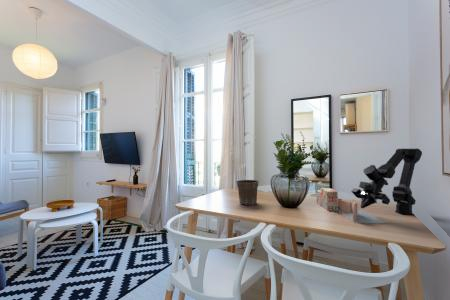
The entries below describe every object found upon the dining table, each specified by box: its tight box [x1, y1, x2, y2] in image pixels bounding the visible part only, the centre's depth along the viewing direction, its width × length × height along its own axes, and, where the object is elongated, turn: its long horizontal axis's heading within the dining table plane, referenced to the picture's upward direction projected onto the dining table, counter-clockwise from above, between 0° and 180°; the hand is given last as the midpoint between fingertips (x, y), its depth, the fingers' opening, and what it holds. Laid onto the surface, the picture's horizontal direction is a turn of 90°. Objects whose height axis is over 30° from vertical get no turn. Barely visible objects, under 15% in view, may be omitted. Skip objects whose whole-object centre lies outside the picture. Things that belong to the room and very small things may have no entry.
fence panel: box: [352, 199, 358, 222], centre depth 120 cm, size 16×3×9 cm, turn 150°
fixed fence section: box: [337, 198, 353, 213], centre depth 133 cm, size 9×2×7 cm, turn 18°
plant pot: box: [236, 179, 260, 206], centre depth 157 cm, size 16×16×16 cm
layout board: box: [337, 209, 387, 224], centre depth 124 cm, size 15×25×1 cm, turn 173°
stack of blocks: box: [315, 187, 339, 212], centre depth 145 cm, size 21×6×12 cm, turn 174°
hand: (361, 207), depth 117 cm, fingers closed
